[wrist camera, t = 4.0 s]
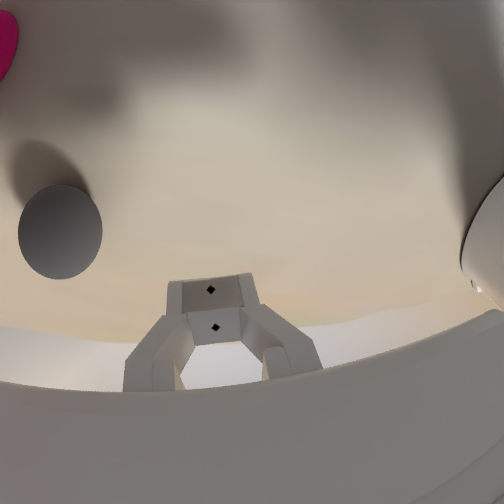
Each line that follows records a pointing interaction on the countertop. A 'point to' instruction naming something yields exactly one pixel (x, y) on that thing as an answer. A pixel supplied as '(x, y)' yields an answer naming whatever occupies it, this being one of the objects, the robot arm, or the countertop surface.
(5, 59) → the pepper mill
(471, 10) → the countertop surface
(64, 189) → the dark grey ball
